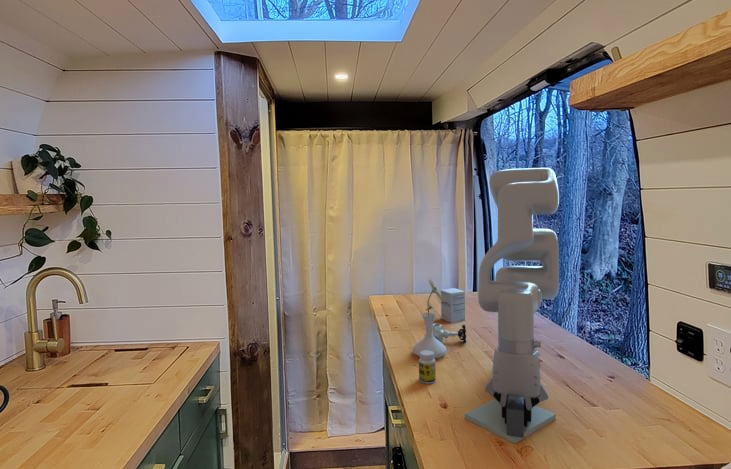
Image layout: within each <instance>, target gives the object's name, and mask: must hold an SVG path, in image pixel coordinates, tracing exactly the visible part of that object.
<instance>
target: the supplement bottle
mask: <svg viewBox="0 0 731 469" xmlns="http://www.w3.org/2000/svg"><path fill="white" fill-rule="evenodd" d="M436 369H437V368H436V358H434V352H432V351H429V350H424V351H421V352H420V357H419V359H418V376H419V377H418V381H419V382H420V383H422V384H428V385H430V384H434V383H436V380H437V379H436V378H437V377H436V375H437V374H436V372H437V371H436Z"/></svg>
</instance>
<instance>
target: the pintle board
mask: <svg viewBox="0 0 731 469" xmlns="http://www.w3.org/2000/svg"><path fill="white" fill-rule="evenodd" d="M464 419H465V420H468V421H469V422H471V423H473V424H475V425H477V426H479V427H481V428H483V429H485V430H487V431H489V432H491V433H493V434H494V435H497V436H499V437H500V438H503V439H504V440H506V441H508V442H510V443H513V444H514V445H516V444H517V443H519V442H520V441H522V440H523V439H526V438H527V437H529V436H530V435H532V434H534V433H535V432H537V431H538V430H540V429H542V428H543V427H545V426H547V425H548V424H551V422H553V421H555V420H556V419H557V414H556V413H553V412H552V411H549V410H546V409H545V408H542V407H540V406H538V405H536V406H534V407H533V408H532V418H531V422H528V423H527V427H525V426H524V438H522V437H516V436H509V435H507V424H505V418H502V406H501V405H500V403H499V402H498V401H497V400H496V399H495V398H494V399H492V400H489V401H488V402H485V403H484V404H481V405H480V406H477V407H475V408H473V409H470V410H469V411H467V412H465V413H464Z"/></svg>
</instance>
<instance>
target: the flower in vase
mask: <svg viewBox="0 0 731 469" xmlns="http://www.w3.org/2000/svg"><path fill="white" fill-rule="evenodd" d="M428 283H429V285H430V287H431V292H430V293H429V296H428V299H427V301H426V303H427V308H426V309H425V311H427V312H424V313H421V314H420V316H421V317H422V319H423V320H424V325H425V336H424V337H423V338H422V339H421V340H419V341H418V342H417V343H415V345H414V346H413V347H412V352H413V354H414V355H415V356H416V357H419V358H420V352H421V351H424V350H429V351H432V352H434V359H437V358H440V357H443V356H446V354H447V352H448V350H447V347H446V346H445V345H444V344H443V343H441V342H440V341H438V340H437V339H436V338H435V337H434V336H433V324H434V322H435V318H436V317H437V313H435V312H434V313H433V312H430V310H432V309H433V306H432V305H431V304H430V298H431V297H432V294H433V293H435V295H436V296H437V298H438V299H439V301H441V300H442V297H441V293H440V292H439V291H438V288H437V287H436V286H435V285H434V281H432V280H431V279H429V280H428Z"/></svg>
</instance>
